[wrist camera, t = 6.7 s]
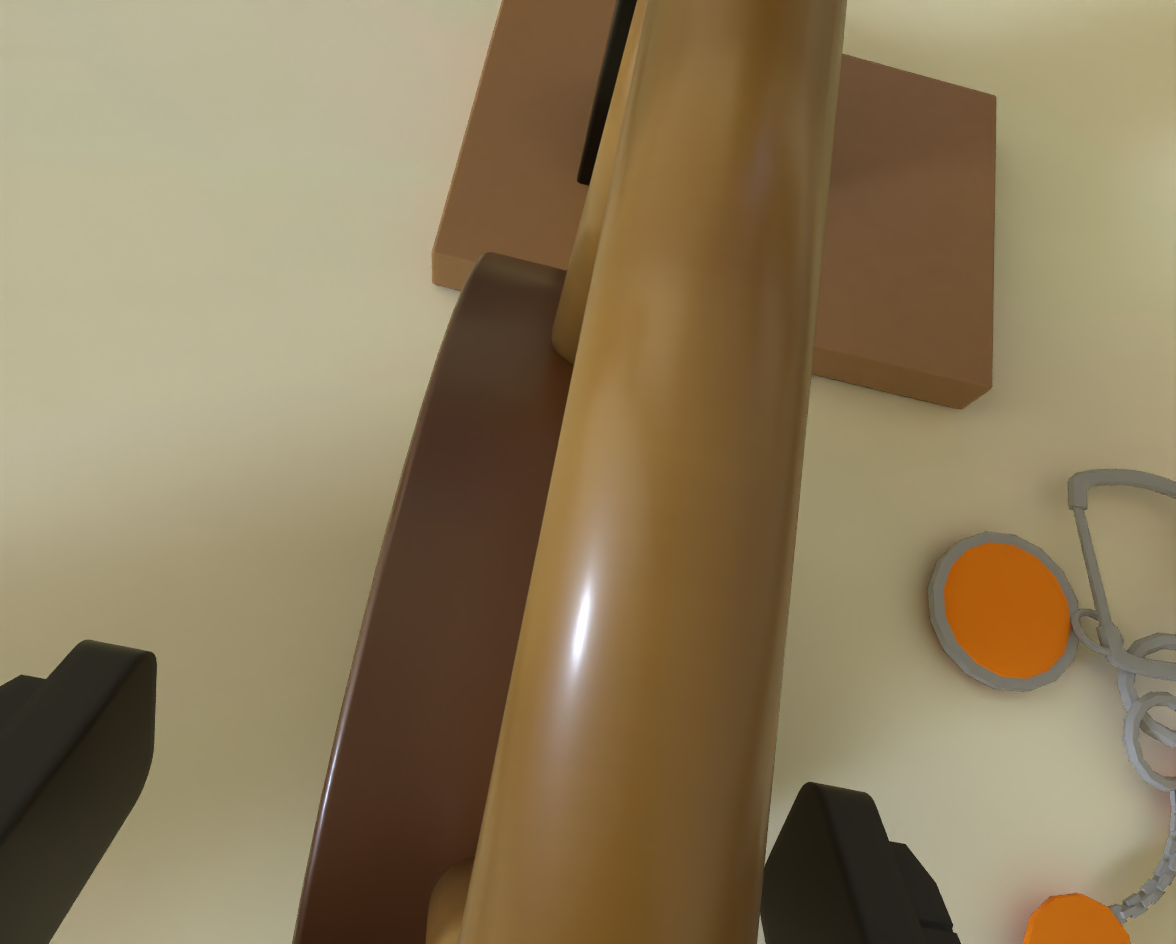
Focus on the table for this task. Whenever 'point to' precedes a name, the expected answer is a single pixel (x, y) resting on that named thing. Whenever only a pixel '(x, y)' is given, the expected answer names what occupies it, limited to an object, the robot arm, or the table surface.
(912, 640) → the table surface
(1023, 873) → the table surface
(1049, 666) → the key chain
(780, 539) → the clock
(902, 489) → the table surface
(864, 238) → the stand
